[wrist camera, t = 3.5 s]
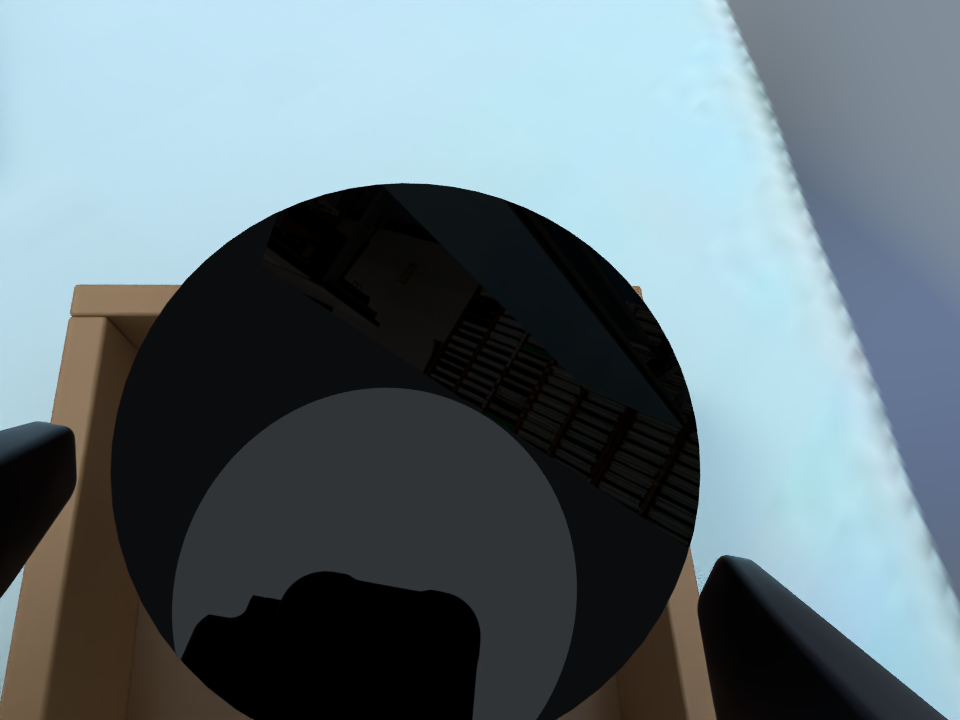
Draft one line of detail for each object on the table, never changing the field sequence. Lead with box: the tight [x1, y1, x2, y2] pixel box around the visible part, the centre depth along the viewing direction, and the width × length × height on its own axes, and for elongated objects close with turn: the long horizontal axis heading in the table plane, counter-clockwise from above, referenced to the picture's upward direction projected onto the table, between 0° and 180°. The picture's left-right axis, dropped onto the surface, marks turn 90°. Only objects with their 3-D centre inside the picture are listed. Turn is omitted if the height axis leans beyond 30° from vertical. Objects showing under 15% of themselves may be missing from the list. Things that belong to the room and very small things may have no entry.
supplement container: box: [110, 183, 700, 720], centre depth 12 cm, size 7×7×10 cm
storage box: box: [0, 285, 717, 720], centre depth 14 cm, size 15×14×4 cm
